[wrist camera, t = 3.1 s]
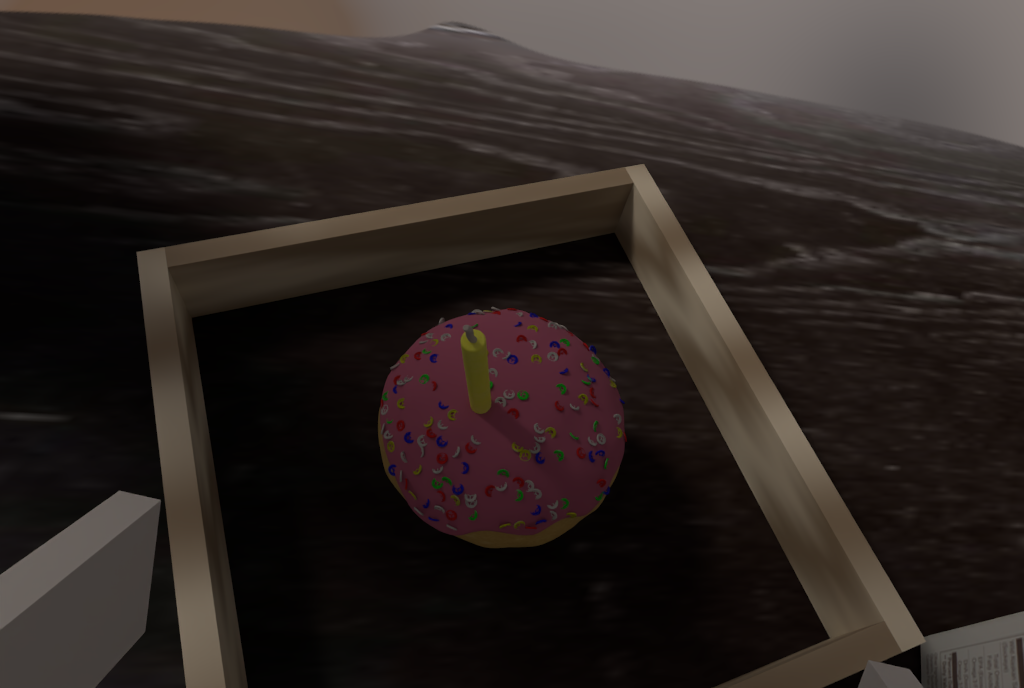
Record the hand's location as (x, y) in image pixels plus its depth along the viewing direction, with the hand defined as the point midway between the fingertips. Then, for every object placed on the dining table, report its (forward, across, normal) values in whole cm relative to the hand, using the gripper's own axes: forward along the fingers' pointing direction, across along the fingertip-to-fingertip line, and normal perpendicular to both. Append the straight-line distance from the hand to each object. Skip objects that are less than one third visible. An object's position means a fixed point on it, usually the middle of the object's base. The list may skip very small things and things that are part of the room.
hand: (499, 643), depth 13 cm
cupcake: (+15, -1, -3) cm, 15 cm away
